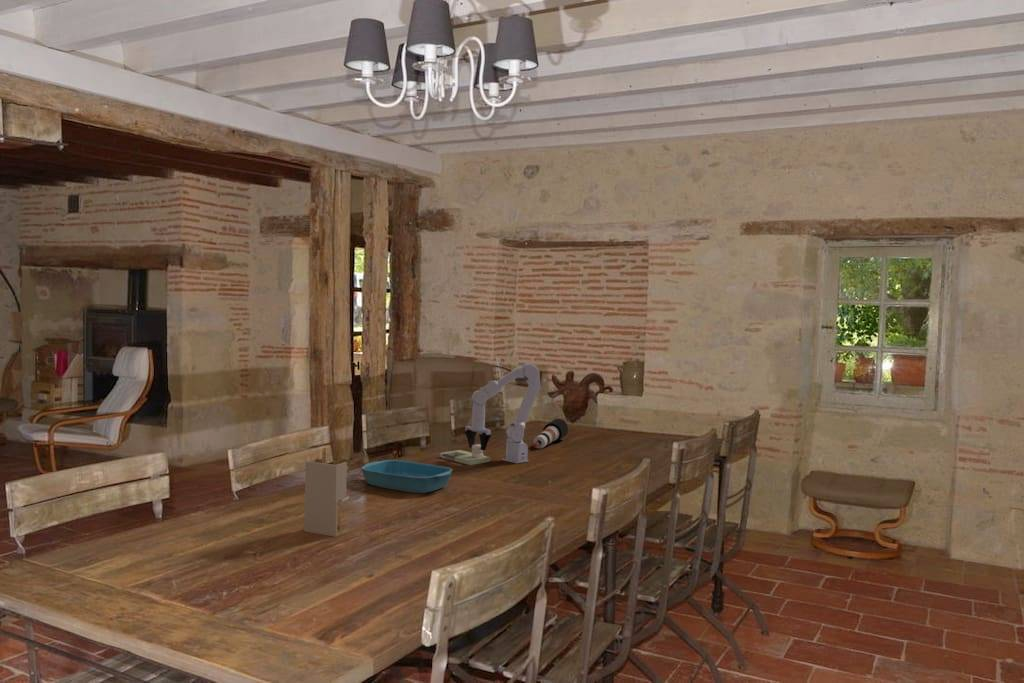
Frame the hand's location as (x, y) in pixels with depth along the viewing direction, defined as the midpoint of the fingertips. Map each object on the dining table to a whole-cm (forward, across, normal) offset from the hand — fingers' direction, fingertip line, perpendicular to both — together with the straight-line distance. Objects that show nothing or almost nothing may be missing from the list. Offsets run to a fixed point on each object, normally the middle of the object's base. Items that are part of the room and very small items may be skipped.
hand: (477, 448), depth 356 cm
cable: (+6, -9, +56) cm, 57 cm away
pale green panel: (+6, -6, -2) cm, 8 cm away
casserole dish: (+6, +17, -52) cm, 55 cm away
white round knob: (+4, 0, 0) cm, 4 cm away
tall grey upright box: (+7, +50, -108) cm, 119 cm away
